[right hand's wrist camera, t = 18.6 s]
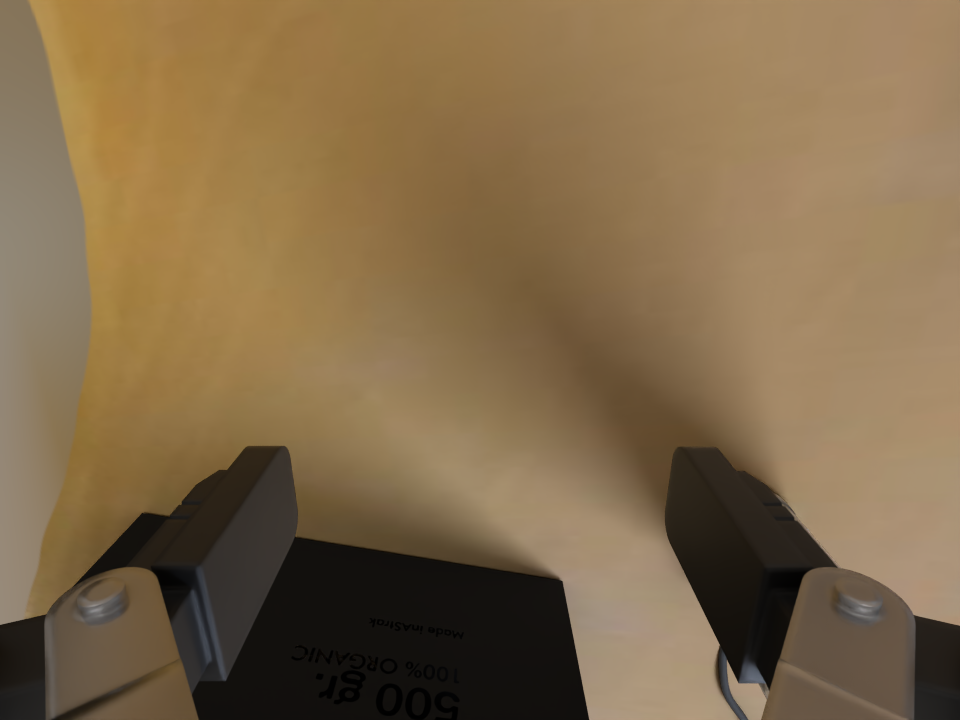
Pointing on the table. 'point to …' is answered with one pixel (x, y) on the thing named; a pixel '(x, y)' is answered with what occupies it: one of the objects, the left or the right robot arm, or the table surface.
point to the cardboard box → (391, 640)
